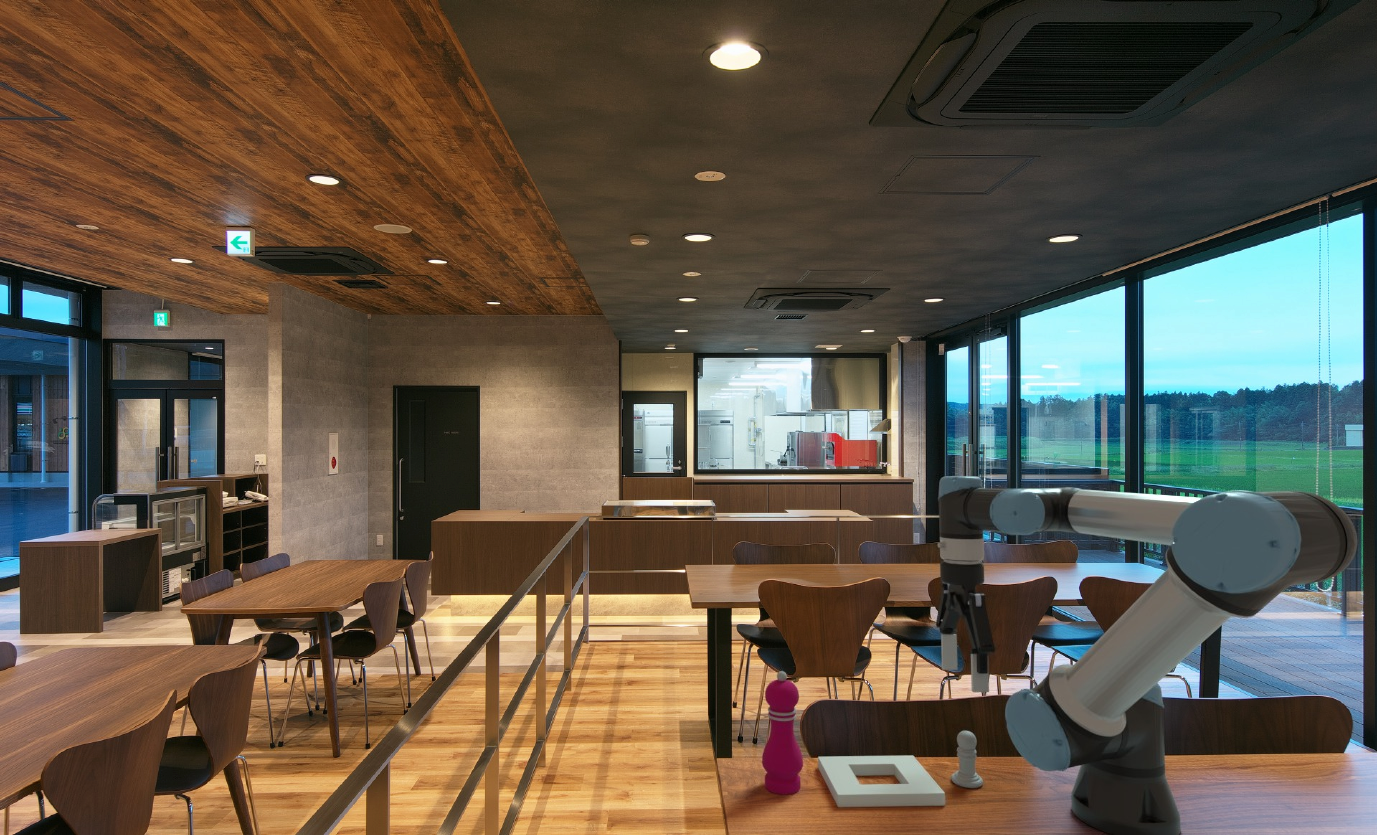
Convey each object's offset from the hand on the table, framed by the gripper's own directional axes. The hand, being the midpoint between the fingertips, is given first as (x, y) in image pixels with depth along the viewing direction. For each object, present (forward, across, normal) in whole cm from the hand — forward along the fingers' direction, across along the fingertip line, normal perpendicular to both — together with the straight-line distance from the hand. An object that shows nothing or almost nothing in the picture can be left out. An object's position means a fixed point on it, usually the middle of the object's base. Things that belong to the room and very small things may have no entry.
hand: (964, 680), depth 134 cm
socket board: (+18, +1, -16) cm, 24 cm away
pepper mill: (+18, +1, -33) cm, 38 cm away
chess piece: (+18, 0, 0) cm, 18 cm away
